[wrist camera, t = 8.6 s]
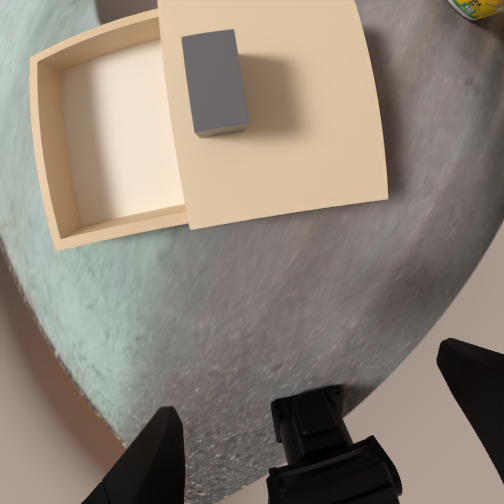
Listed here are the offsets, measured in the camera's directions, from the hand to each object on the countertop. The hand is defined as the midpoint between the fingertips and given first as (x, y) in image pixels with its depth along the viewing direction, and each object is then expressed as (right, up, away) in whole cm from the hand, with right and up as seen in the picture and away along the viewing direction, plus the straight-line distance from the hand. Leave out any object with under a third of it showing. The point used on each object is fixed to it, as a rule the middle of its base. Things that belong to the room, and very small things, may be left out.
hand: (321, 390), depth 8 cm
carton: (-10, +12, +8) cm, 17 cm away
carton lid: (-1, +12, +5) cm, 13 cm away
